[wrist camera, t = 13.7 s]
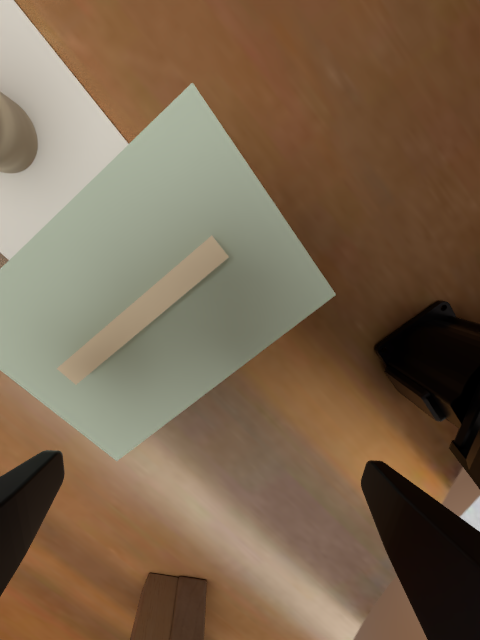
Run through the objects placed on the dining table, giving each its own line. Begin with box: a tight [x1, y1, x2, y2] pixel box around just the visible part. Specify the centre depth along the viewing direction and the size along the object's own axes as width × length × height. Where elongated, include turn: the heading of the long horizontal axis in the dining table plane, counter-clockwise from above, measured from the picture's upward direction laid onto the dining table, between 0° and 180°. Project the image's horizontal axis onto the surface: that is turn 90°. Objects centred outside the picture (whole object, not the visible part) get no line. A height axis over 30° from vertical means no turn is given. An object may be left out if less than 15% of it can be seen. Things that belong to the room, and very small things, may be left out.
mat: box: [0, 0, 129, 260], centre depth 14 cm, size 11×11×1 cm
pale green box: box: [0, 83, 336, 461], centre depth 14 cm, size 24×18×6 cm
